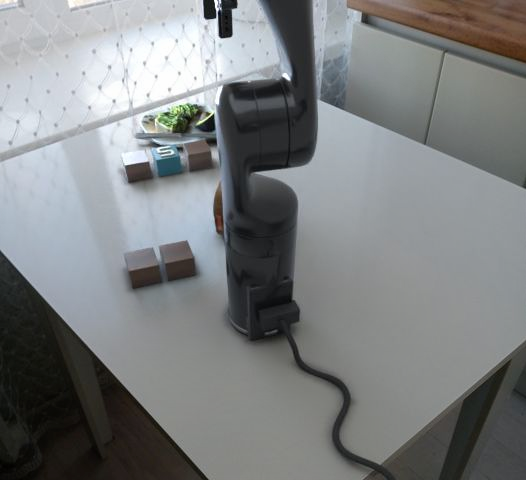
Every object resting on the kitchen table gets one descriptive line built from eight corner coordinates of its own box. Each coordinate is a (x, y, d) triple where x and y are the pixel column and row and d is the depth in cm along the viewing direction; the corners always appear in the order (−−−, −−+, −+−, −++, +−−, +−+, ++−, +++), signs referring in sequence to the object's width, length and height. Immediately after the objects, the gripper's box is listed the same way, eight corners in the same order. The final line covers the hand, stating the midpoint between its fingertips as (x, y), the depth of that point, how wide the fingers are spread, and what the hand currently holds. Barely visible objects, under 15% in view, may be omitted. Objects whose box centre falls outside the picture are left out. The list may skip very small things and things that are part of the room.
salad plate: (148, 163, 109) (145, 140, 106) (121, 124, 120) (117, 103, 116) (237, 141, 115) (236, 119, 112) (204, 106, 126) (202, 85, 122)
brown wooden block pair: (196, 274, 87) (194, 257, 85) (132, 288, 85) (128, 271, 82) (189, 257, 90) (187, 239, 87) (127, 270, 88) (123, 252, 85)
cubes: (212, 167, 108) (211, 150, 106) (128, 182, 105) (124, 165, 102) (206, 156, 111) (205, 139, 109) (124, 170, 108) (120, 153, 105)
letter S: (182, 172, 107) (180, 154, 104) (158, 176, 106) (155, 159, 103) (176, 160, 110) (174, 143, 107) (153, 164, 109) (151, 147, 106)
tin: (231, 246, 92) (228, 203, 86) (212, 244, 92) (209, 200, 86) (250, 196, 102) (249, 154, 95) (233, 194, 102) (232, 152, 96)
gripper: (171, -112, 78) (183, 15, 91) (197, -92, 70) (206, 47, 82) (222, -115, 80) (227, 10, 92) (253, -96, 71) (254, 41, 83)
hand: (217, 27), depth 87 cm, fingers open, 8 cm apart
